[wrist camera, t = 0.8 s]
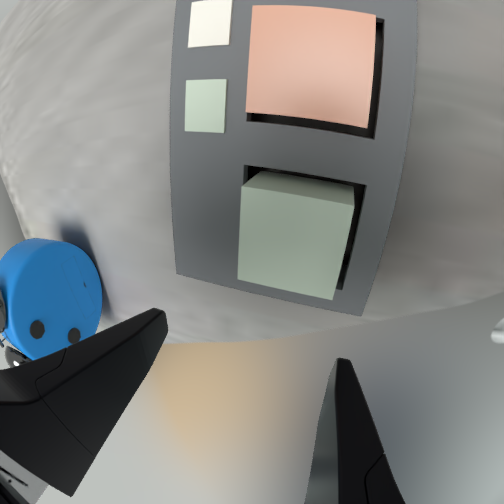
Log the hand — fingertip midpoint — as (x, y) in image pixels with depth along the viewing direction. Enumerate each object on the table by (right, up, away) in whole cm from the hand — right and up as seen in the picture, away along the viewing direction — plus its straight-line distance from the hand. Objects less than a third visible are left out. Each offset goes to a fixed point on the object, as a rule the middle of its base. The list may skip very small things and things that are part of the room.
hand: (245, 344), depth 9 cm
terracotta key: (+4, +13, +4) cm, 14 cm away
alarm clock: (-20, +1, +22) cm, 30 cm away
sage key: (+3, +5, +9) cm, 10 cm away
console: (+3, +14, +7) cm, 16 cm away
